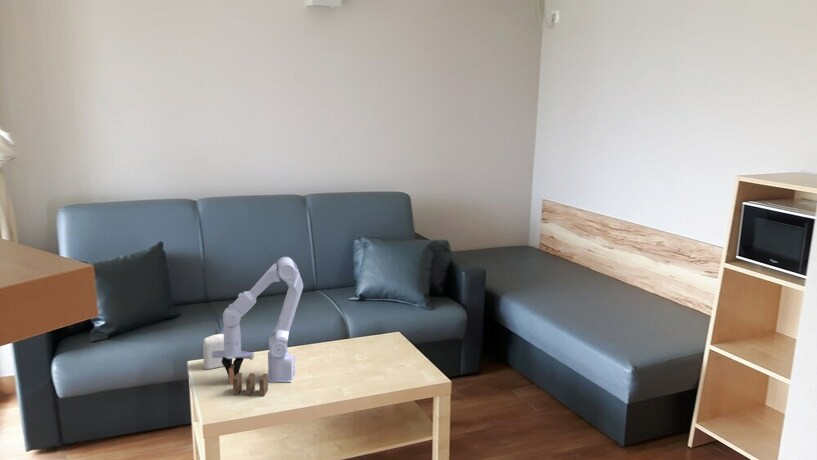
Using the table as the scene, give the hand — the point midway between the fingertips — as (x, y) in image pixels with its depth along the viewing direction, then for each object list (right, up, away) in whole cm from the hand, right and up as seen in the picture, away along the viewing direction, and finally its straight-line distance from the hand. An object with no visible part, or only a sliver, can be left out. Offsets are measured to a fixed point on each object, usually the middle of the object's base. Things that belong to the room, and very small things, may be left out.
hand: (233, 377), depth 220 cm
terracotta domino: (0, -2, 0) cm, 2 cm away
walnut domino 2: (+8, -3, -8) cm, 12 cm away
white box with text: (-10, +1, +13) cm, 16 cm away
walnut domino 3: (+13, -4, -8) cm, 15 cm away
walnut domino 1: (+4, -3, -8) cm, 9 cm away
